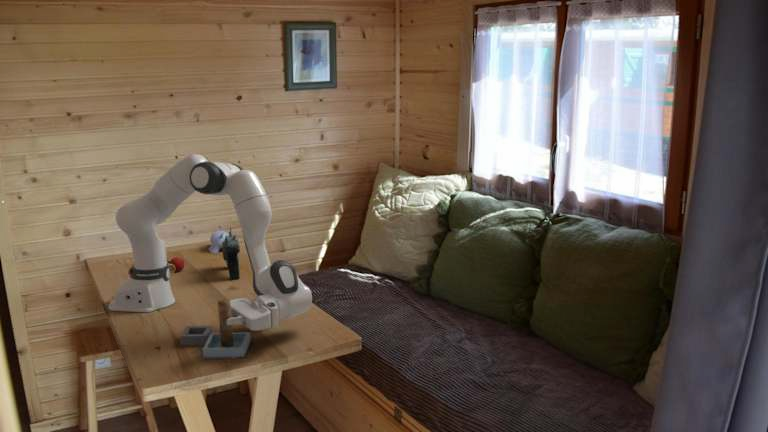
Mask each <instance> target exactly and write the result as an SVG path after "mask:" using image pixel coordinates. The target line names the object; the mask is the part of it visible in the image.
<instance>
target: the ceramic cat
mask: <svg viewBox="0 0 768 432" xmlns="http://www.w3.org/2000/svg"><path fill="white" fill-rule="evenodd" d="M228 234H229V236H226V237H225V241H223V243H222V246H223V247H222V257H223V260H224V261H225V263H226V266H227V267H226V269H227V268H228V269H229V270H228V269H227V270H228V276H229V279H230V281H237V280H238V279H239V280H240V259H239V253H240V252H241V248H240V243H239V237H236V236H237V234H234V235H233V234H232V226H230V227H229V232H228Z"/></svg>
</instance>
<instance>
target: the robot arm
mask: <svg viewBox="0 0 768 432" xmlns="http://www.w3.org/2000/svg"><path fill="white" fill-rule="evenodd" d="M195 192H198V193H199V194H203V195H212V196H213V195H214V196H227V195H228V196H229V197H230V199H231V201H232V204H233V207H234V209H235V213H236V215H237V218H238V222H239V225H240V227H241V228H240V229H241V232H242V238H243V243H244V245H245V250H246V254H247V256H248V259H249V264H250V266H251V272H252V289H253V291H254V293H255V294H256V296H255V297H254V298H253V300H252V299H248V298H247V297H240V298H234V299H229V300H230V306H231V317H229V318H226V319H225V323H226V324H227V325H232V326H233V325H243V326H244V327H246V328H247V329H249V330H250V331H261V330H265V329H269V328H272V329H273V328H277V327H279V320H281V319H283V318H291V317H295V316H297V315H300V314H304V313H306V312H307V311H308V310H309V309H310V308H311V306H312V302H313V294H312V291H311V289H310V287H309V286H307V285H306V284H305V283H303V281H302V280H301V279H300V277H299V276H298V274H297V270H296V268H295V266H294V265H293V264H292V263H290V262H289V261H288V260H284V259H279V260H276V261H274V262H272V263H271V261H270V257H269V254H268V251H267V248H266V247H267V246H266V241H265V239H266V234H267V231H268V228H269V225H270V223H271V221H272V217H273V213H272V212H273V211H272V206H271V204H270V200H269V198H268V194H267V193H266V191H265V187H264V186H263V184H262V182H261V180H260V179H259V177H258V175H256V173H255V172H254V171H252V170H249V169H244V168H242V167H241V166H240V165H238V164H235V163H230V162H229V163H228V162H225V161H208V159H207V158H206V157H205V156H203V155H202V154H199V153H192V154H189V155H187V156H186V157H184V158H183V159H181V160H179V161H178V162H176V163H175V164H174V165H173V166H172V167H171V168H169V169H168V170H167V171H166V172H165V173H164V174H163V175H161V176H160V177H159V178H158V179H157V180H156V181H155V183H154V186H153V187H152V189H151V190H150V191H149V192H148V193H145V195H142V196H141V197H138V198H136V199H133V200H130V201H128V202H126V203H125V204H123V205H122V206H121V207H120V208H119V209H118V210H117V212H116V214H115V222H116V225H117V226H118V228H119V229H120V230H121V231H123V232H124V233H125V234H126V236H127V237H128V239H129V242H130V245H131V249H132V250H131V251H132V256H133V264H132V265H131V266H130V268H129V269H128V271H127V273H128V274H127V275H129V277H128V278H127V279H126V280H125V281H123V282H122V283H121V284H119V286H118V287H117V289H116V290H115V293H114V294H115V295H114V299H112V300H111V301H110V302H109V303H108V311H112V312H128V313H129V312H133V313H150V312H153V311H155V310H159V309H163V308H167V307H169V306H171V305H174V303H175V302H176V298H175V296H174V294H173V291H172V287H171V283H170V276H171V275H170V273H169V266H168V263H167V260H168V257H167V250H166V243H165V241H164V240H163V239H162V238H160V237H159V234H158V232H157V229H156V228H157V227H156V226H158V225H160V224H163V223H164V222H165V221H166V220H167V219H169V218H170V217H171V215H172V214H173V213H174V212H175V211H176V210H177V208H178V207H179V206H180V205H181V204H183V202H185V201H186V199H188V198H190V196H191V195H192V194H194V193H195ZM217 317H218V318H217V319H219V313H218V315H217Z"/></svg>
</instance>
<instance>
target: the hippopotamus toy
mask: <svg viewBox="0 0 768 432" xmlns="http://www.w3.org/2000/svg"><path fill="white" fill-rule="evenodd" d="M226 236H229V232H226V231H224V230H217V231H213V232H212V234H211V236H210V239H209V240H210V243H211V244H210V245H211V246H210V247H209V248H208V250H209V251H210V254H216V253H217V254H218V253H219V251H220V248H223V246H222V243H223V241H225V237H226Z"/></svg>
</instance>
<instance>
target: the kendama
mask: <svg viewBox="0 0 768 432" xmlns="http://www.w3.org/2000/svg"><path fill="white" fill-rule="evenodd" d="M170 259H171V258H170ZM167 263H168V266H169V273H170V274H171V275H173V273H175V271H178V272H181V271H182V270H184V268H185V261H184V259H183V258H181V257H179V256H175V257H172V259H171V260H169V259H167Z"/></svg>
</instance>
